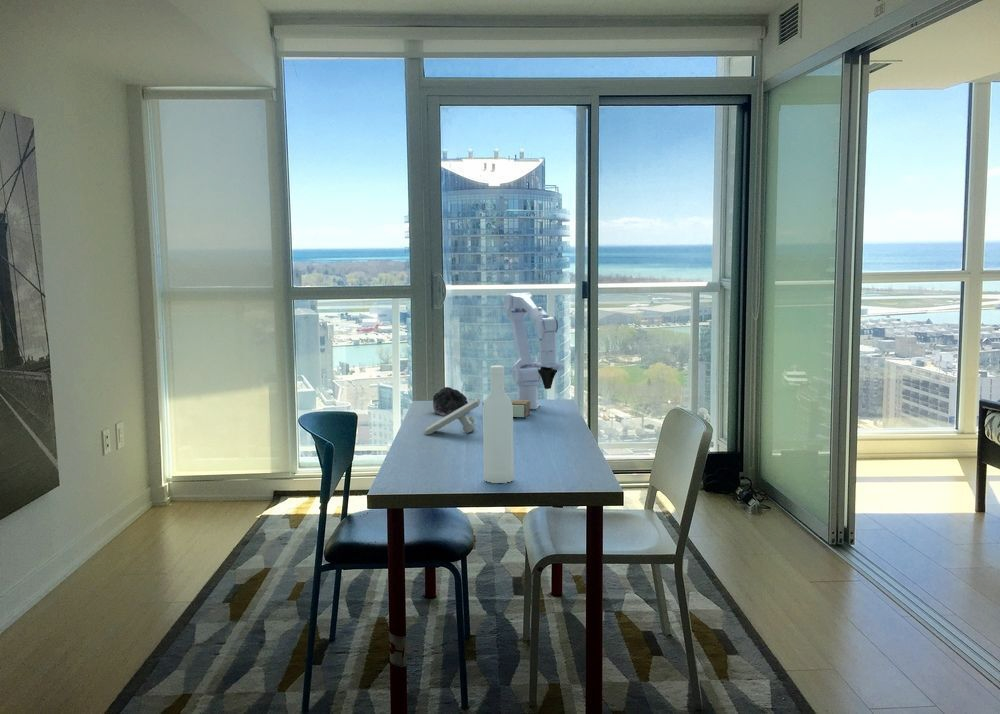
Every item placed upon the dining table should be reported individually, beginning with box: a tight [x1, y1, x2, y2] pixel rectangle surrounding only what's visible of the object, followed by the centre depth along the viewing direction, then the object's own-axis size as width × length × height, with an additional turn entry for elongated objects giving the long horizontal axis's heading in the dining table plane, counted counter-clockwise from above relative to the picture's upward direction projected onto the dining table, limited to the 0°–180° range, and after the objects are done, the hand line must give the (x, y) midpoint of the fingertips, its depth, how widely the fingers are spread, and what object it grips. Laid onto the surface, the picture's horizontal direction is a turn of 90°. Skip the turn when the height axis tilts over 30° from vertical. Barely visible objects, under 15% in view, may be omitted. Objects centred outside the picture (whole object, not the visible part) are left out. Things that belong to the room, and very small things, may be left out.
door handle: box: [424, 397, 481, 435], centre depth 276 cm, size 18×8×20 cm
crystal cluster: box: [432, 386, 469, 416], centre depth 304 cm, size 13×14×10 cm
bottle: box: [482, 365, 515, 484], centre depth 212 cm, size 8×8×30 cm
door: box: [513, 405, 528, 418], centre depth 292 cm, size 2×15×4 cm, turn 77°
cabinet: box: [482, 399, 531, 417], centre depth 296 cm, size 7×16×5 cm, turn 78°
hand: (547, 388), depth 294 cm, fingers closed
